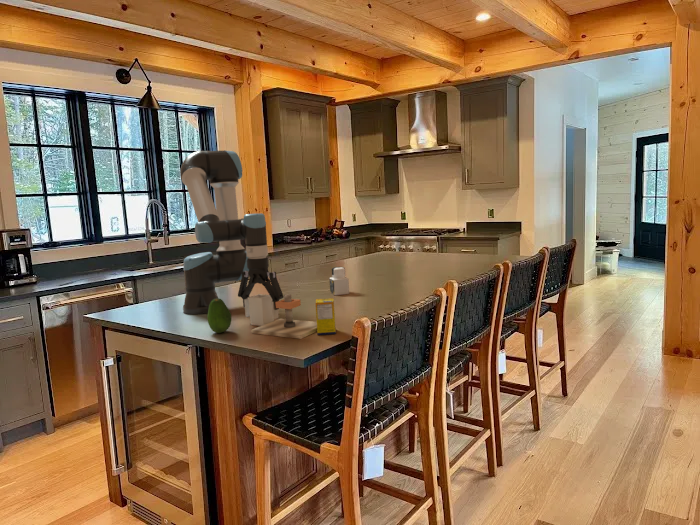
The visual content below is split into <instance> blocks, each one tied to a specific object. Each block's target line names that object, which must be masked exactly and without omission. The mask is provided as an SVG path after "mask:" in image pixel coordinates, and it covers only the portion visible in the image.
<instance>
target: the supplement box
mask: <svg viewBox="0 0 700 525" xmlns="http://www.w3.org/2000/svg"><path fill="white" fill-rule="evenodd" d="M335 315H336V313H335V300H334V297H330V298H316V299H315V316H316V319H315V320H316V322H317V331H316V333H317V336H324V335H336V330H337V329H336V316H335Z"/></svg>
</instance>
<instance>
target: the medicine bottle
mask: <svg viewBox="0 0 700 525" xmlns="http://www.w3.org/2000/svg"><path fill="white" fill-rule="evenodd" d="M349 279H350V278H348V277H347V276H346V267H344V266H335V267H332V268H331V277H329V291H330V292H329V293H330V294H332V295H333V296H340V295H341V296H342V295H349V294H350V281H349Z"/></svg>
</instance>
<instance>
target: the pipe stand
mask: <svg viewBox="0 0 700 525" xmlns="http://www.w3.org/2000/svg"><path fill="white" fill-rule="evenodd" d="M283 296H284V297H283V299H284V302H292V299H293V298H292V294H289V293H288V294H283ZM284 313H285V315H284V316H285V318H277V319H274V321H272V322H270V323H267V324H265V325H262V326H258V327H255V328H253V329H251V334H256V335H265V336H274V337H282V338H293V339H299V340H300V339H303V338H306V337H307V336H310V335H311V334H314V333H317V321H312V320H311V321H309V320H301V319H300V320H299V319H294V317H293V316H294V315H293V308H292V309H284Z"/></svg>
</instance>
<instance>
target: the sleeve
mask: <svg viewBox="0 0 700 525" xmlns="http://www.w3.org/2000/svg"><path fill="white" fill-rule="evenodd" d="M248 300H249V313H250V316H249V322H250V326H258V327H260V326H262V325H265V324H267V323H270V322H272V321H275V319H272V309H271V301H272V298H271V296H270V295H269V294H264V293H263V294H261V293H258V294H255V295H251V296H249V297H248Z"/></svg>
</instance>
